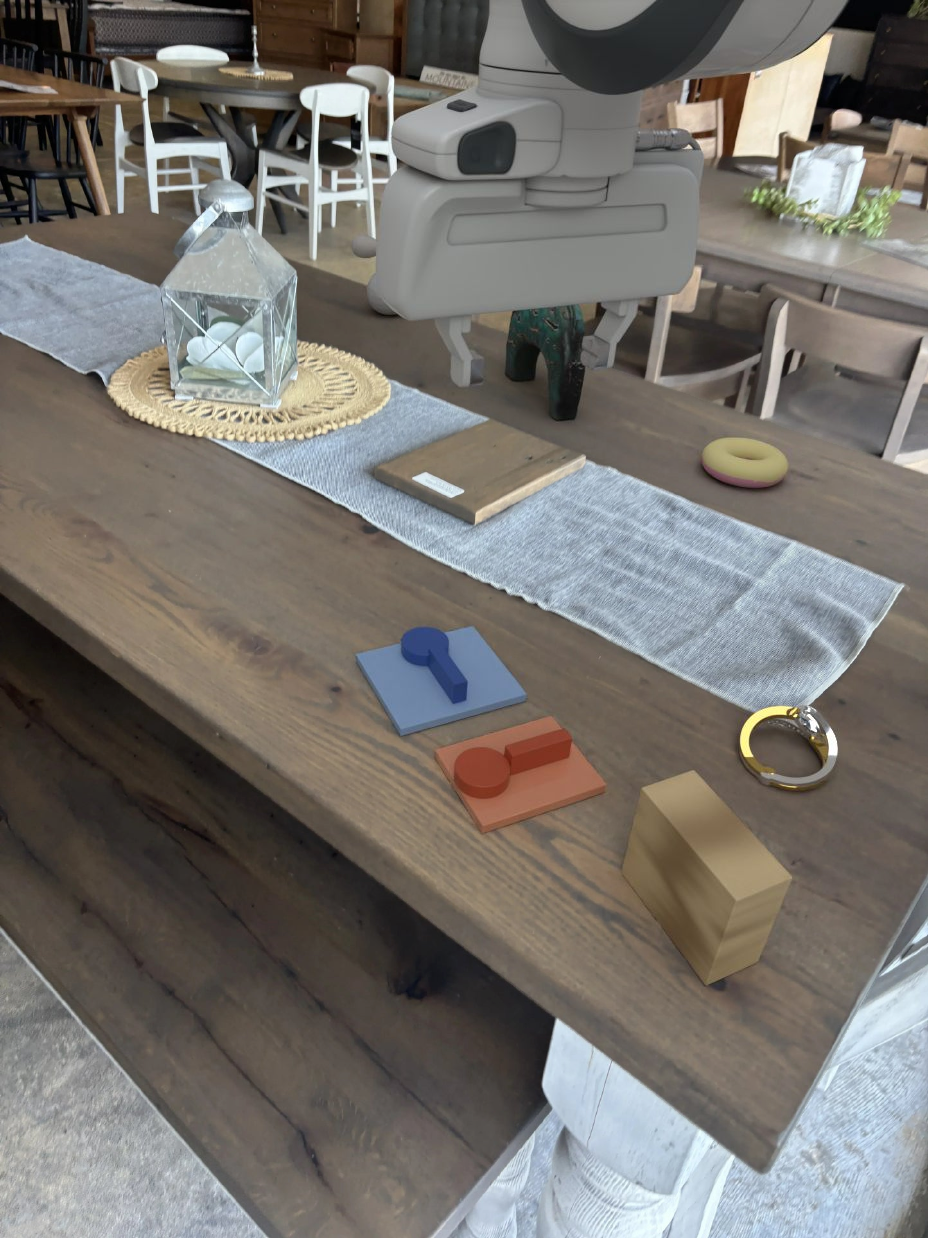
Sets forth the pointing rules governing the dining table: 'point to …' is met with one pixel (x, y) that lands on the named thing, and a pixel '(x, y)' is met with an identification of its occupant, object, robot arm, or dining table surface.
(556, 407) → the ceramic cat
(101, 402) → the dining table surface
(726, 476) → the donut
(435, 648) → the blue spoon
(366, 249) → the perfume bottle
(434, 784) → the dining table surface
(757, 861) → the spoon stand
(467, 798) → the terracotta tile
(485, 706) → the blue tile
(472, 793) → the terracotta spoon
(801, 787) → the ring
